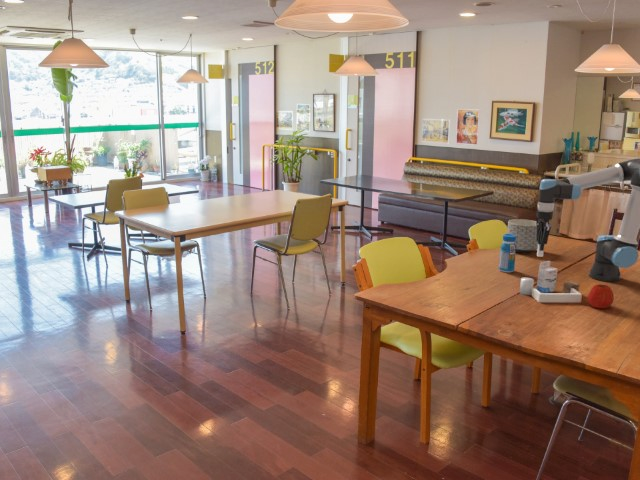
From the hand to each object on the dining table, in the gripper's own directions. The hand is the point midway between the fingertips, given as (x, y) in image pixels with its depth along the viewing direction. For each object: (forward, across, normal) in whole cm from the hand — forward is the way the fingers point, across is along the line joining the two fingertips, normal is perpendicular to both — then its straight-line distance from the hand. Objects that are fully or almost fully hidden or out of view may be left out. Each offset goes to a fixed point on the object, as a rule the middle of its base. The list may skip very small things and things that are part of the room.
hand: (539, 256), depth 307 cm
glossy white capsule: (+15, +14, -11) cm, 23 cm away
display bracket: (+15, +22, 0) cm, 27 cm away
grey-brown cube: (+15, +14, +11) cm, 23 cm away
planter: (+15, -67, +16) cm, 71 cm away
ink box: (+15, +11, 0) cm, 19 cm away
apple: (+15, +33, +17) cm, 40 cm away
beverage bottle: (+15, -24, -8) cm, 29 cm away
